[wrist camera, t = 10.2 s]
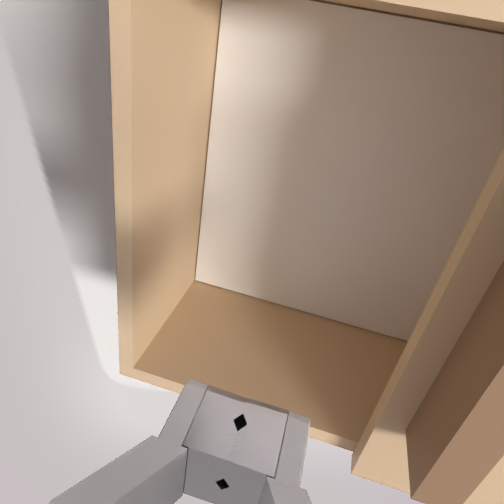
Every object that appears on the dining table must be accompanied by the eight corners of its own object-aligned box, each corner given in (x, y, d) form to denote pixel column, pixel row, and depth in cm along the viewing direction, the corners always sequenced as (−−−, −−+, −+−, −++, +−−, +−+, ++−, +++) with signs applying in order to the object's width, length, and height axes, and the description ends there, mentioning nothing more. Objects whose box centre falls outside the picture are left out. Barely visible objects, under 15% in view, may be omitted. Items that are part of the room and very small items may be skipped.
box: (215, -38, 20) (106, -80, 12) (645, 35, 18) (890, 46, 9) (188, 279, 31) (119, 373, 23) (455, 356, 28) (489, 497, 20)
